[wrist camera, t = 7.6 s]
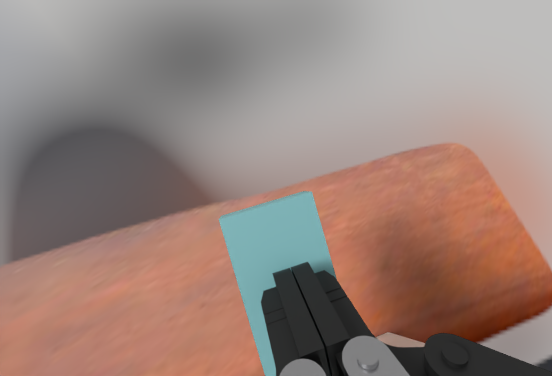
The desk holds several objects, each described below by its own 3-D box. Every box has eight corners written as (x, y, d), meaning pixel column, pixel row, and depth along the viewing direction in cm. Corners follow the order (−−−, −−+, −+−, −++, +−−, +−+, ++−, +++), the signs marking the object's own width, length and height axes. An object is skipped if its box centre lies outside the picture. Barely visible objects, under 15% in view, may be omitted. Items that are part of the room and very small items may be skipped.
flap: (280, 427, 11) (218, 219, 11) (275, 399, 12) (221, 215, 12) (368, 391, 11) (311, 191, 11) (353, 368, 13) (303, 191, 13)
